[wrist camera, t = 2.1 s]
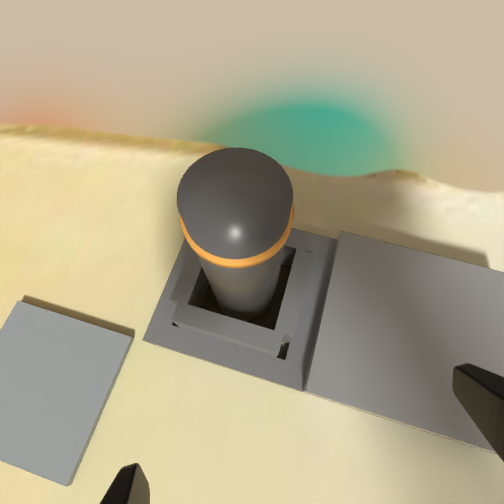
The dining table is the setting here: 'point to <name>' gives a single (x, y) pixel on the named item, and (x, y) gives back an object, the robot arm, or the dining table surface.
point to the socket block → (354, 328)
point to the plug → (238, 226)
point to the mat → (53, 388)
